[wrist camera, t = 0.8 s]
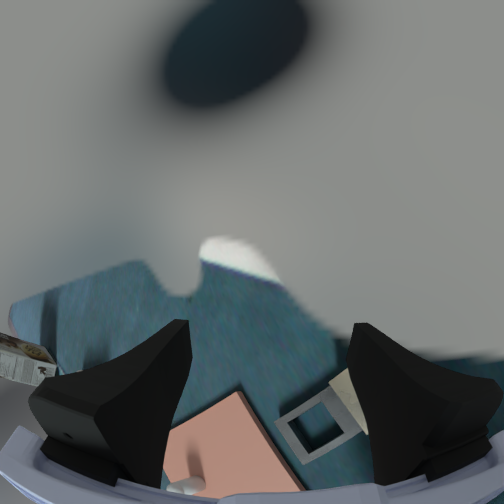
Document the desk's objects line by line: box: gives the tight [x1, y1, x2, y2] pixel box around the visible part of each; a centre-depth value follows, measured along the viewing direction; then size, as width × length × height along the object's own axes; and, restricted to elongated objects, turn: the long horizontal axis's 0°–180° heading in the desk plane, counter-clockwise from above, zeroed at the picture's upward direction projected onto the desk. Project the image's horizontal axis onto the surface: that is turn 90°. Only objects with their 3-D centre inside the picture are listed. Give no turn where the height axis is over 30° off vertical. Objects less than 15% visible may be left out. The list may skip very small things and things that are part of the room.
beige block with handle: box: [274, 368, 368, 465], centre depth 18 cm, size 12×5×5 cm, turn 122°
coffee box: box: [0, 333, 57, 386], centre depth 37 cm, size 9×6×16 cm
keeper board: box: [163, 391, 306, 499], centre depth 19 cm, size 14×14×6 cm
